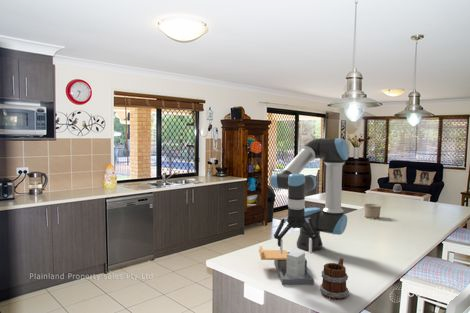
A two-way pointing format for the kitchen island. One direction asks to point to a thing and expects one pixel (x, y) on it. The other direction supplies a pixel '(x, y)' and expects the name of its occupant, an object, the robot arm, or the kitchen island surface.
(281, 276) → the housing
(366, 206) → the planter
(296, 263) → the small box
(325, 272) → the mug
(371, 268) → the kitchen island surface
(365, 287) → the kitchen island surface
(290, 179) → the robot arm
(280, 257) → the lid
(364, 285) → the kitchen island surface
